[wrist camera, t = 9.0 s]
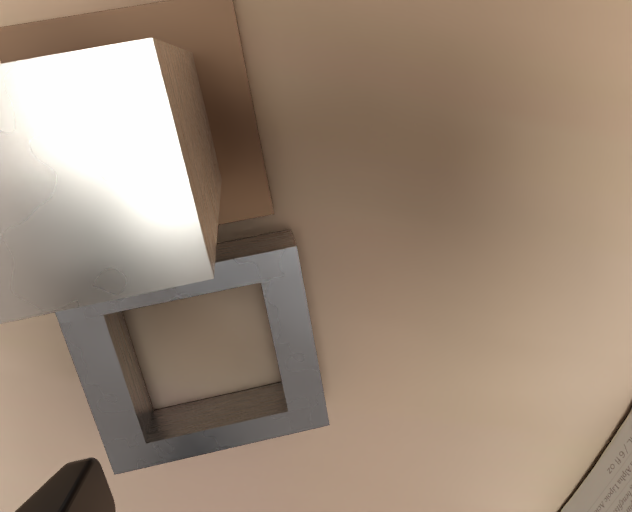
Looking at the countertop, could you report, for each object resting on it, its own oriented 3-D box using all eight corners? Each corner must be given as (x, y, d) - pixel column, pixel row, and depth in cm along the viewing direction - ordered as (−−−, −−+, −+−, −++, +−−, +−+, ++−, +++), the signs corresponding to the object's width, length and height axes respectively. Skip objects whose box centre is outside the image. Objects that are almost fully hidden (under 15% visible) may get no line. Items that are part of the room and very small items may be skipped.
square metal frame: (321, 394, 22) (329, 425, 20) (124, 439, 22) (114, 474, 20) (290, 229, 20) (296, 246, 18) (67, 273, 19) (49, 296, 17)
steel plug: (221, 179, 18) (213, 278, 10) (100, 203, 18) (-19, 328, 9) (191, 52, 17) (152, 37, 8) (59, 76, 16) (-125, 85, 8)
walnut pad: (272, 208, 19) (274, 214, 19) (73, 247, 19) (66, 254, 18) (230, -6, 17) (230, -10, 16) (0, 30, 16) (-11, 28, 16)
